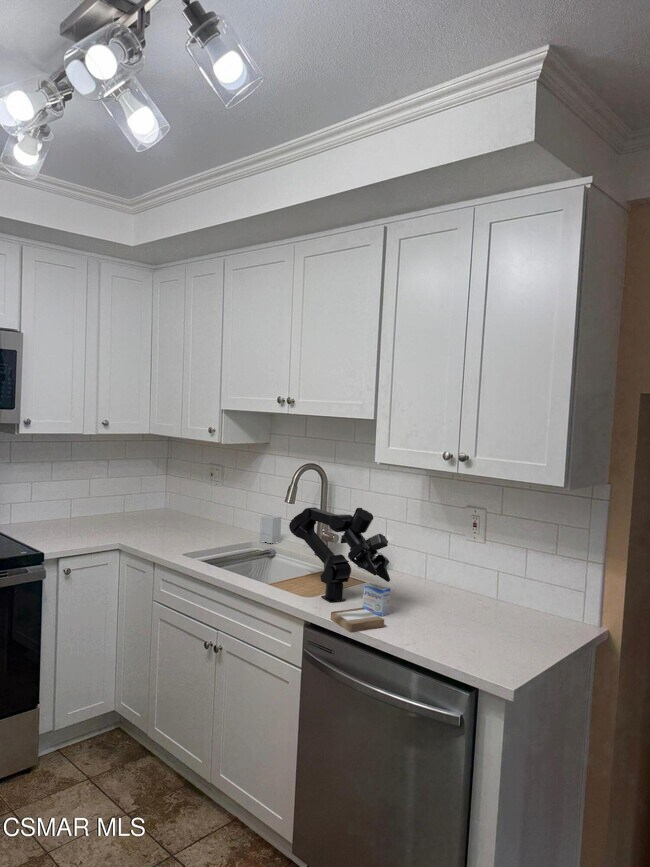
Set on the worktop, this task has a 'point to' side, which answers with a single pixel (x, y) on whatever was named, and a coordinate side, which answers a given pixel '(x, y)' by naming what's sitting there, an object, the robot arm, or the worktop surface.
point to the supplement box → (270, 529)
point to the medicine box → (376, 599)
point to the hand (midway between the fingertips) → (382, 577)
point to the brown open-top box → (357, 619)
